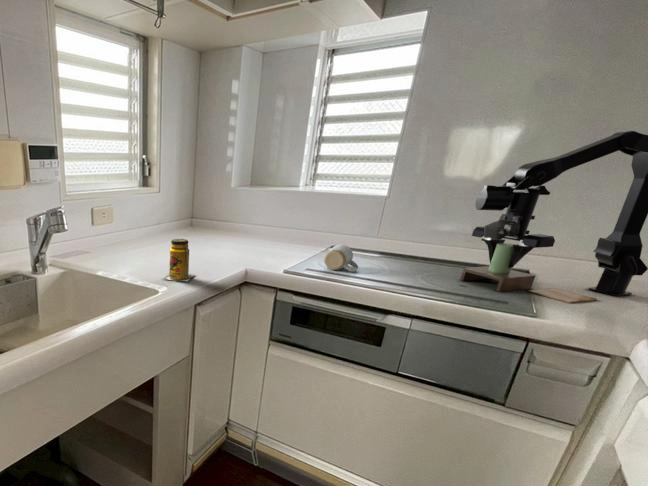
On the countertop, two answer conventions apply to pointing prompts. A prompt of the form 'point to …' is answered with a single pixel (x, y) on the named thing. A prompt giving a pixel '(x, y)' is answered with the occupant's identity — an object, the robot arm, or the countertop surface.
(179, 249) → the condiment
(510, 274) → the shelf
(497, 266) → the spice tin
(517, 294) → the countertop surface
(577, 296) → the cork pad
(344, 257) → the ceramic mug
